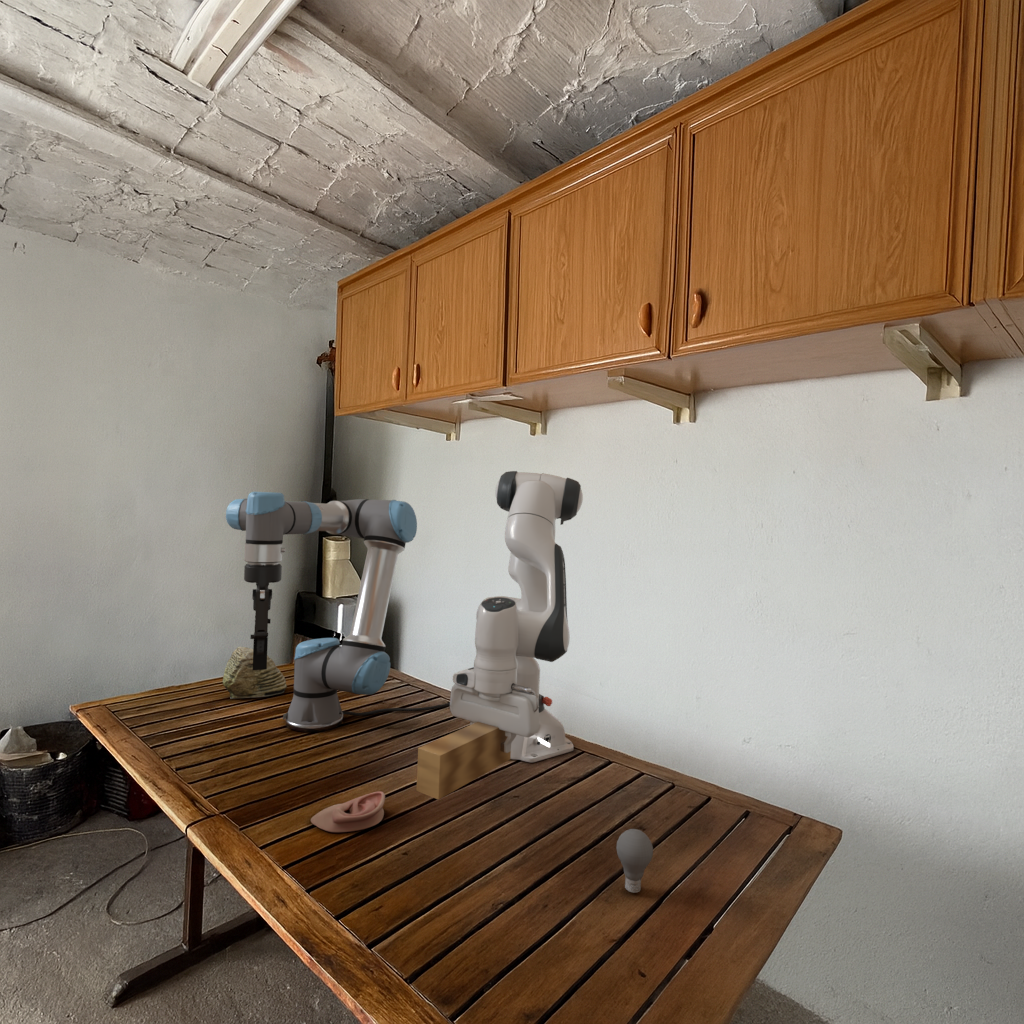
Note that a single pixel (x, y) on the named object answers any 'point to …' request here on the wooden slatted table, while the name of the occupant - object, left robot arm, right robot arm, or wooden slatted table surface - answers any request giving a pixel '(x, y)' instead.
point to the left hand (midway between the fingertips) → (259, 661)
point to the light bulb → (634, 857)
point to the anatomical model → (352, 814)
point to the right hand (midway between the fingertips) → (492, 747)
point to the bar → (459, 759)
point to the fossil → (251, 676)
